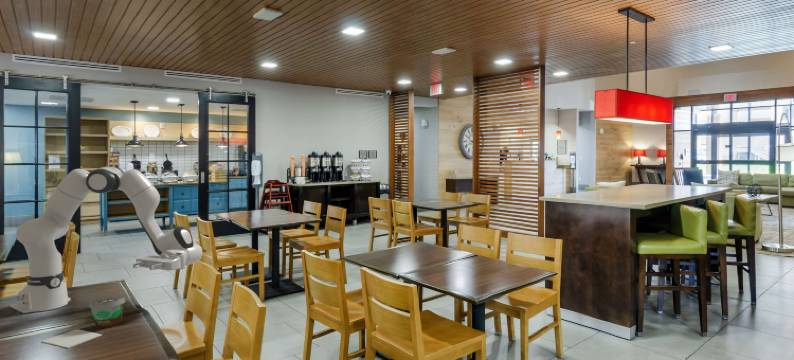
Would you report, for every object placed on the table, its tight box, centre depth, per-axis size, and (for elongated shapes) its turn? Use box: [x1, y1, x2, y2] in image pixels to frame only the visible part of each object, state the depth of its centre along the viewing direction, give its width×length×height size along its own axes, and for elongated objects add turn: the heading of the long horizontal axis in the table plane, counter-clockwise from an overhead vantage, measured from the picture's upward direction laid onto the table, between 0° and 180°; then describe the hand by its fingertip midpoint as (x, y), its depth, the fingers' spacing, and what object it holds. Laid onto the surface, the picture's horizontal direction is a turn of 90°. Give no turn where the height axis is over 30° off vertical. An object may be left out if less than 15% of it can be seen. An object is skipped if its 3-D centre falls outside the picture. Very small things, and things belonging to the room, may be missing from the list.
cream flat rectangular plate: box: [41, 328, 103, 349], centre depth 164 cm, size 14×12×1 cm
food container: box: [88, 296, 127, 329], centre depth 175 cm, size 12×6×10 cm, turn 118°
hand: (142, 267), depth 189 cm, fingers open, 8 cm apart
